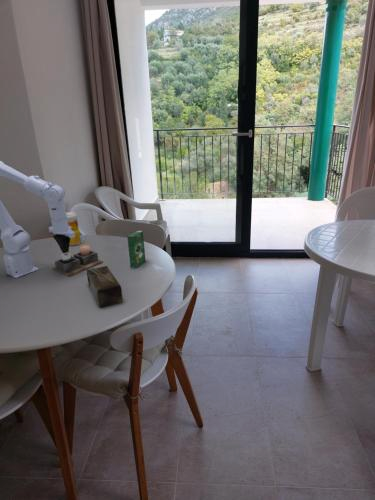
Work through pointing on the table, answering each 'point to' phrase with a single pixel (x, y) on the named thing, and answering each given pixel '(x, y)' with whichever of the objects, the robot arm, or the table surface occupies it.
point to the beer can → (73, 228)
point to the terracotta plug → (84, 250)
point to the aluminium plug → (66, 257)
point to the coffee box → (136, 248)
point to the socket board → (77, 264)
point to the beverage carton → (104, 286)
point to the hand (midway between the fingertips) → (65, 252)
